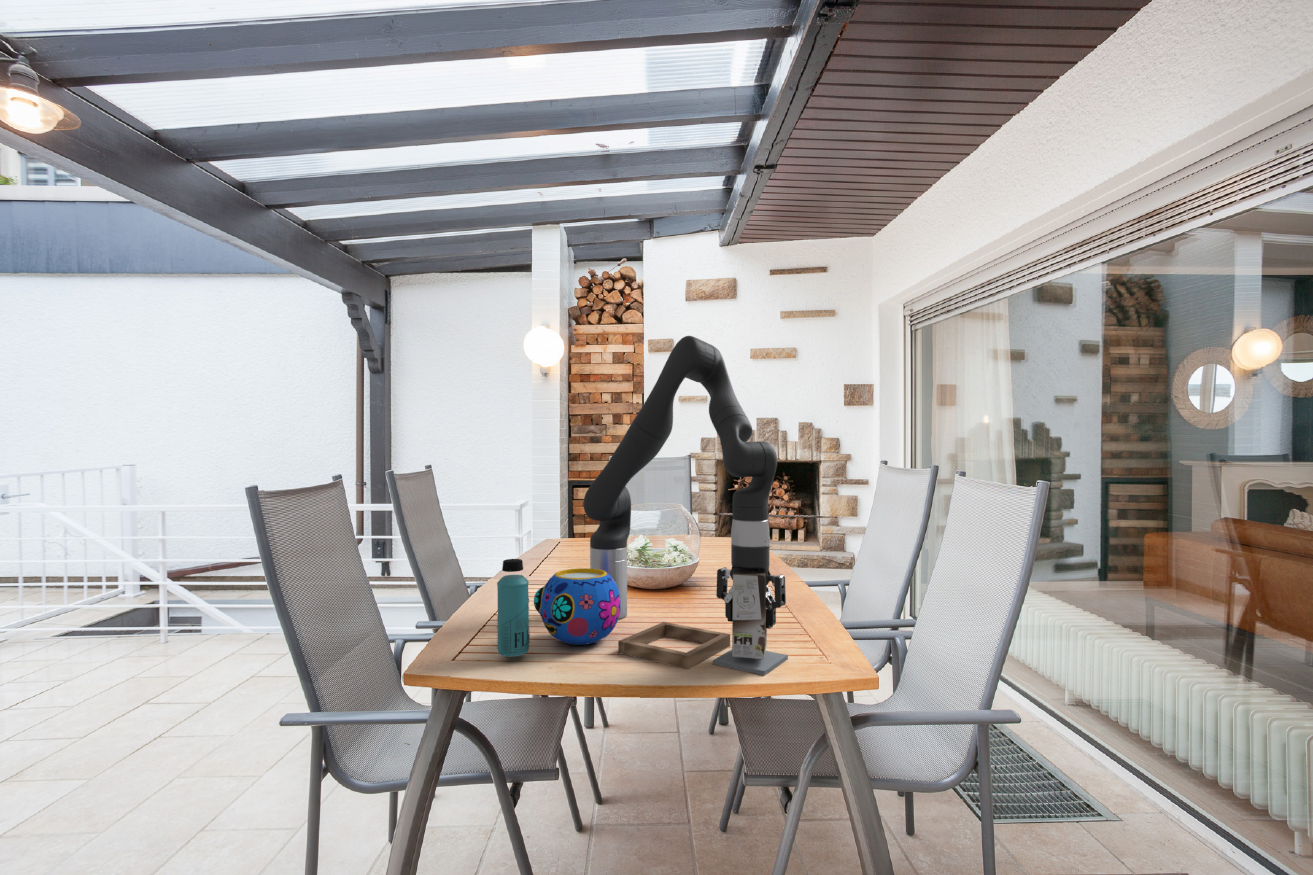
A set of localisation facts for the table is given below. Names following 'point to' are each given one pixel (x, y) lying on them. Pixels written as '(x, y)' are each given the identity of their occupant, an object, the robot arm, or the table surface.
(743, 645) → the coffee box
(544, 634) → the table surface
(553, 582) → the ceramic pot
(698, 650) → the board
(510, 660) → the table surface
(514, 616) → the beverage bottle
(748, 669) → the slate mat
